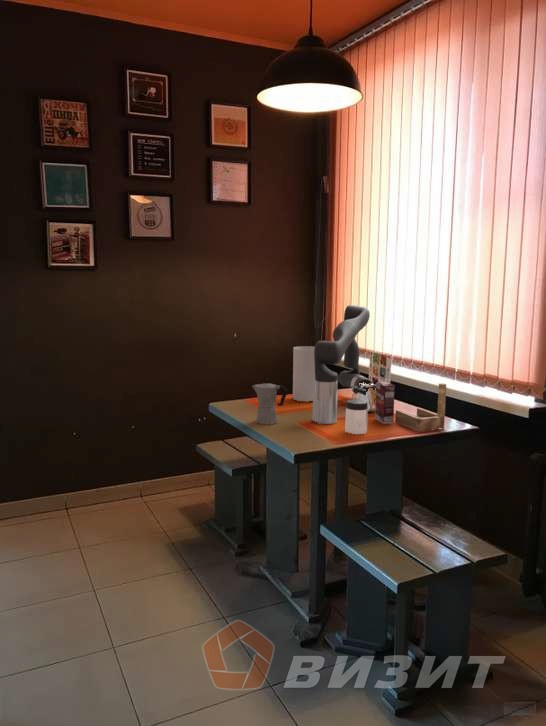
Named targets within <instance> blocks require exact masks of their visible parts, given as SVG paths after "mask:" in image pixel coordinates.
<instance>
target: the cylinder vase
mask: <svg viewBox="0 0 546 726" xmlns="http://www.w3.org/2000/svg"><path fill="white" fill-rule="evenodd" d="M292 349H293V350H292V351H293V352H292V353H293V355H292V356H293V359H292V363H293V365H292V372H293V373H292V399H293V400H294V401H295V400H298V401H313V398H315V362H314V349H315V346H312V345H311V346H307V345H306V346H305V345H304V346H302V345H301V346H293V348H292ZM298 401H297V402H298Z"/></svg>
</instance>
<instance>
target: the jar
mask: <svg viewBox="0 0 546 726" xmlns="http://www.w3.org/2000/svg"><path fill="white" fill-rule="evenodd" d="M345 403H346V404H345V405H346V407H345V419H344V420H345V421H344V422H345V423H344V424H345V426H344V432H345V433H347V432H348V433H347V434H350V433H352V435H354V434H355V435H365V434H366V433H367V431H368V418H369V417H368V413H369V410H368V409H369V408H368V405H369V404H368V401H367V400H366V399H359V398H353V399H348V400H346V402H345Z"/></svg>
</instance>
